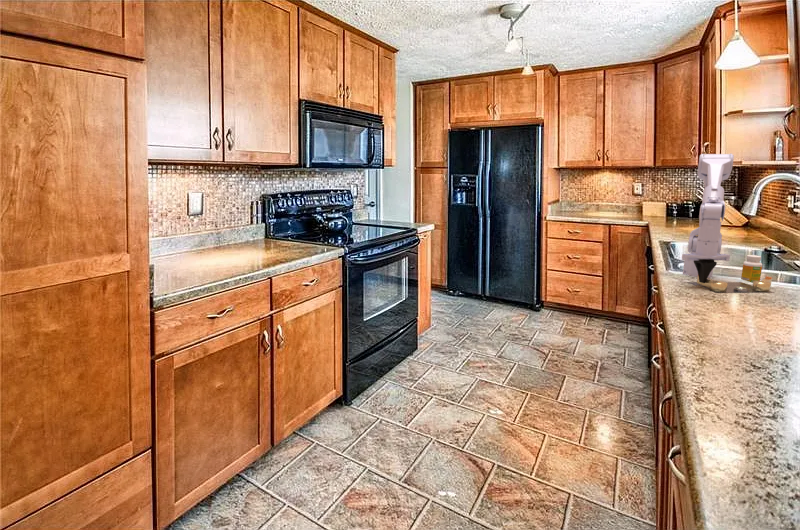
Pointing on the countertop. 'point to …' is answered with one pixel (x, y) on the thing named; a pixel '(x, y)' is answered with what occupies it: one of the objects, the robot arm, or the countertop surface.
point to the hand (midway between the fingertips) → (702, 282)
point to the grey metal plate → (733, 288)
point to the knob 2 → (762, 284)
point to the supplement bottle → (752, 268)
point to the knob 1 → (714, 285)
